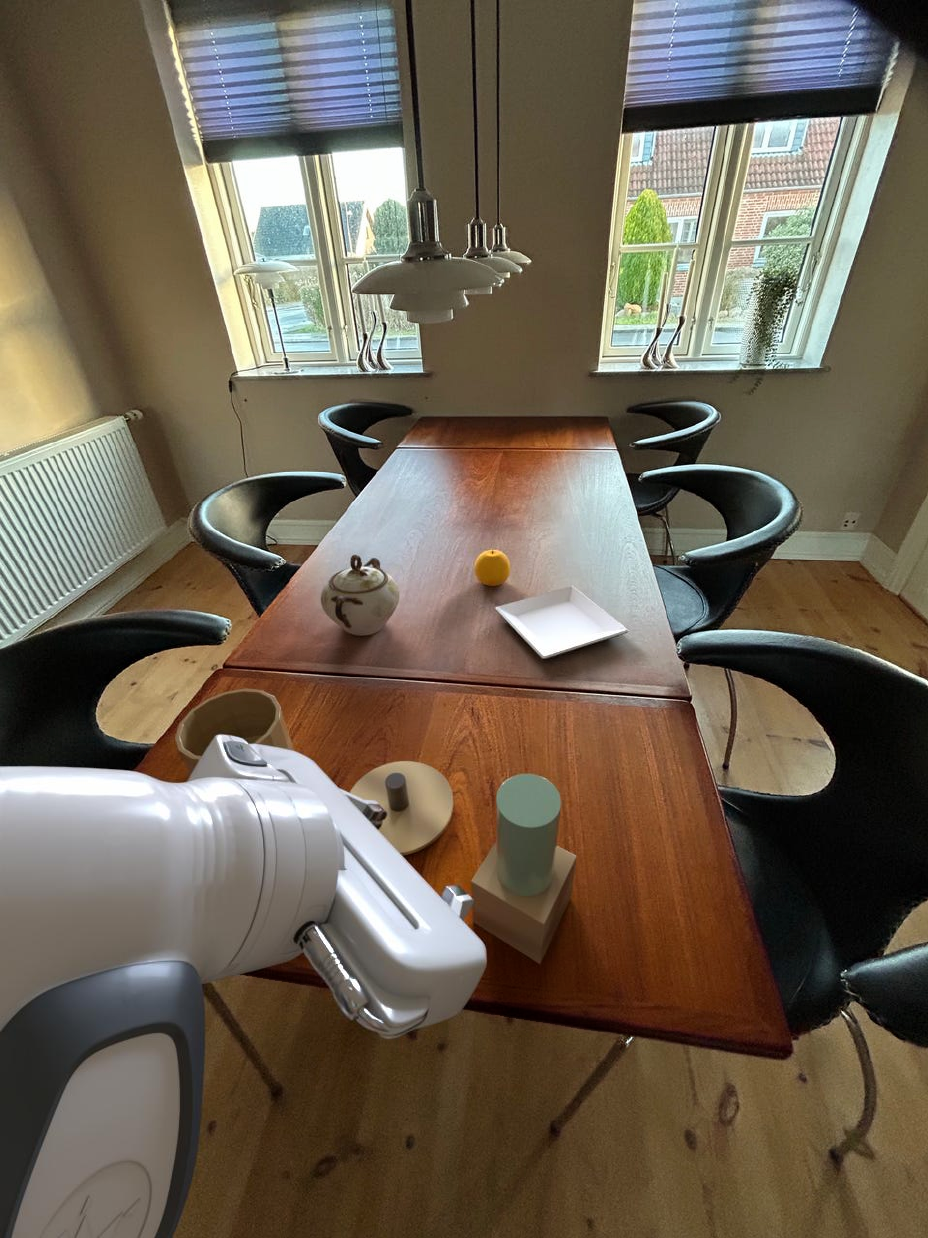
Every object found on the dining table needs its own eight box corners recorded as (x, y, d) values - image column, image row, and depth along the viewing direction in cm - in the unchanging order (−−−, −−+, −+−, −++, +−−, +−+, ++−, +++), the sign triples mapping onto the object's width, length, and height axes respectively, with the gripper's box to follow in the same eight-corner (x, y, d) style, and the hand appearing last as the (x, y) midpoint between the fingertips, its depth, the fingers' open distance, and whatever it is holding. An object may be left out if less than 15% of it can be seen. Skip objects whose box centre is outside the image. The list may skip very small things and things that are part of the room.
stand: (540, 964, 54) (544, 924, 49) (472, 922, 57) (470, 881, 53) (571, 897, 59) (577, 856, 55) (507, 862, 63) (508, 821, 58)
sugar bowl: (350, 595, 116) (339, 532, 107) (415, 601, 113) (409, 537, 104) (308, 648, 100) (291, 579, 92) (383, 657, 97) (372, 587, 88)
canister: (538, 908, 50) (544, 839, 44) (485, 877, 53) (484, 808, 47) (562, 859, 54) (571, 790, 48) (513, 833, 57) (514, 764, 51)
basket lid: (410, 880, 61) (405, 852, 58) (322, 825, 68) (313, 797, 65) (474, 793, 71) (473, 765, 68) (391, 752, 78) (387, 724, 75)
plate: (542, 667, 93) (543, 657, 92) (494, 615, 107) (494, 606, 106) (628, 639, 99) (630, 629, 98) (572, 593, 113) (573, 584, 112)
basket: (239, 825, 68) (218, 776, 63) (178, 782, 75) (154, 734, 69) (313, 757, 78) (300, 709, 72) (254, 724, 84) (237, 678, 78)
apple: (471, 588, 116) (470, 558, 112) (478, 571, 123) (478, 542, 118) (507, 592, 115) (507, 561, 110) (512, 574, 121) (513, 544, 117)
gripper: (411, 978, 21) (552, 924, 32) (208, 718, 33) (359, 744, 44) (333, 1118, 21) (501, 1016, 32) (159, 806, 33) (322, 809, 44)
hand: (416, 856), depth 38 cm, fingers open, 8 cm apart
